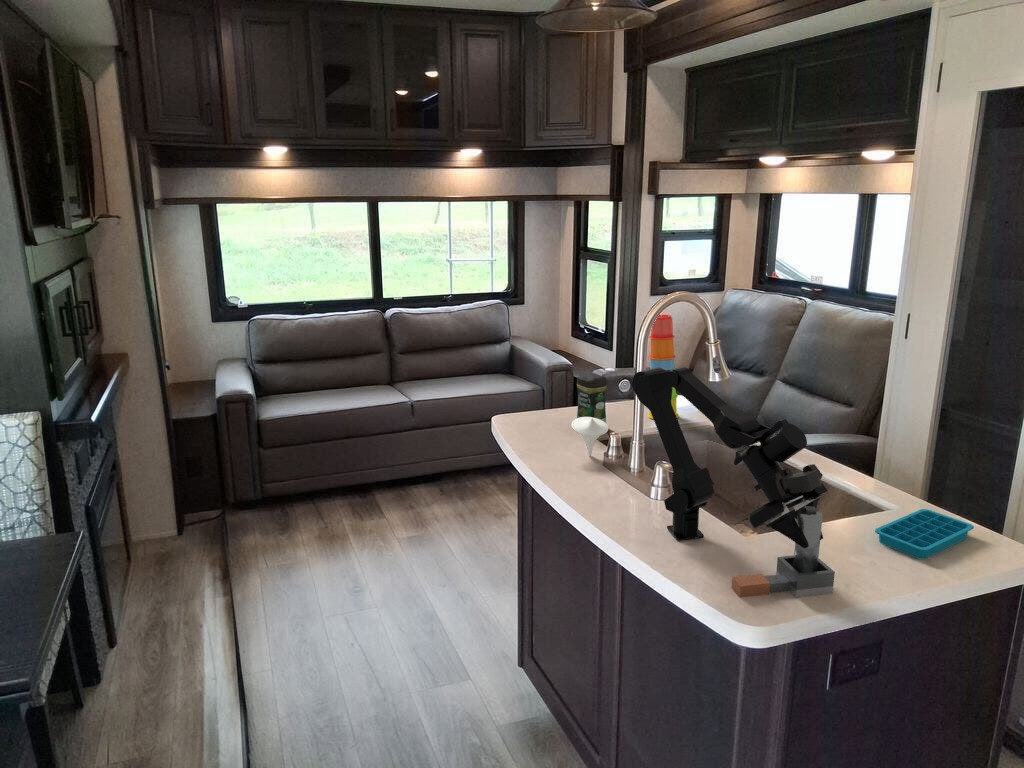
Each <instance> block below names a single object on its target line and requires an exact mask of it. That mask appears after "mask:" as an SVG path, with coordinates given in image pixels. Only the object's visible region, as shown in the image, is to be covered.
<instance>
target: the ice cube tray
mask: <svg viewBox="0 0 1024 768" xmlns="http://www.w3.org/2000/svg"><path fill="white" fill-rule="evenodd" d="M974 528H975V527H974V525H973V524H971V523H969V522H966V521H963V520H960V519H957V518H954V517H952V516H949V515H945V514H943V513H940V512H937V511H934V510H932V509H929V508H921V509H918V510H916V511H914V512H911V513H909V514H907V515H905V516H903V517H902V516H901V517H900V518H898V519H895V520H893V521H890V522H888V523H886V524H883V525H881V526H879V527H876V528H875V529H874V533H876V534H877V535H878V542H879V543H880V544H882V545H884V546H886V547H889V548H892V549H894V550H897V551H899V552H902V553H904V554H906V555H909V556H911V557H914V558H916V559H921V560H924V559H926V558H929V557H931V556H933V555H935V554H937V553H939V552H941V551H943V550H945V549H947V548H949V547H952V546H954V545H956V544H958V543H960V542H962V541H964V540H966V539H967V538H968V537H967V536H968V533H969V532H970V531H973V529H974Z"/></svg>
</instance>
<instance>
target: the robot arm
mask: <svg viewBox="0 0 1024 768" xmlns="http://www.w3.org/2000/svg"><path fill="white" fill-rule="evenodd" d="M631 387H632V390H633V392H634V394H635V395H636V397H637V399H638V401H639V403H641V404H642V405H643V406H644V407H645V408H647V410H649V413H650V412H651V414H652V417H653V419H652V420H653V422H654V424H655V426H656V429H657V432H658V435H659V437H660V440H661V442H662V445H663V448H664V449H665V453H666V454H667V458H668V461H669V463H670V466H671V468H672V471H673V472H672V477H671V478H672V479H671V487H672V491H673V493H672V494H671V495H669V496H668V497H667V498H666V499H664V500H663V503H664V508H665V510H666V511H668V512H671V513H672V525H671V524H670V525H667V526H666V529H667V530H668V532H669V533H670V534H671V535H672V536H673V537H674V538H675V540H677V541H680V540H683V541H684V540H692V539H693V540H694V539H702V538H704V537H705V535H704V533H702V531H701V530H700V529H699V520H700V508H703V507H706V506H707V505H708V502H709V501H711V500H712V498H713V495H714V493H715V491H714V490H715V489H714V485H715V483H714V481H713V480H712V477H711V476H710V475H711V474H710V472H709V471H710V470H709V469H708V468H707V467H704V468H701V467H700V466H699V465H698V464H697V463H696V462H695V461H694V457H693V455H692V453H691V450H690V448H689V446H688V443H687V441H686V437H685V435H684V432H683V430H682V428H681V425H680V422H679V420H678V418H677V417H676V415H675V412H674V409H673V407H672V404H671V398H672V387H673V388H675V389H676V391H677V392H678V393H679V394H680V395H681V396H682V397H683V398H684V399H686V400H687V402H689V403H690V404H691V405H692V406H693V407H694V408H696V409H697V410H698V411H699V412H700V413H701V414H702V415H704V416H705V417H706V418H707V419H708V420H709V421H710V422H711V424H712V425H713V428H714V432H715V434H716V435H717V436H718V437H719V439H720V440H721V441H722V442H723V444H725V446H727V448H730V449H740V448H742V447H748V448H747V449H740V450H737V451H735V458H734V461H733V465H734V466H737V465H740V464H744V465H745V466H746V467H745V468H747V469H748V471H749V473H750V474H751V476H752V478H753V479H754V480H755V482H756V485H755V486H754V489H755V491H756V492H758V491H761V492H762V493H763V494H764V496H765V498H766V499H767V501H768V502H767V503H764V504H763V505H761V506H760V507H759V508H757V509H756V510H754V511H753V512H751V513H749V515H748V520H749V521H748V522H749V523H750V524H751V527H753V530H755V529H757V528H759V527H761V526H763V525H765V523H766V522H768V521H769V523H768V524H766V526H765V527H766V528H771V529H772V530H775V531H776V532H778V533H780V535H783V536H784V537H787V538H788V539H789V540H791V541H792V542H794V544H795V543H797V544H798V545H800V546H801V547H803V548H807V547H808V546H809V545H808V543H807V540H806V538H805V537H804V535H803V533H802V531H801V530H800V528H799V526H798V524H797V516H798V509H800V508H803V507H805V506H813V507H815V508H816V509H818V508H817V507H818V504H819V502H821V498H820V497H822V496H823V495H824V494H826V493H828V492H829V491H828V489H827V488H826V486H825V485H824V483H822V482H821V480H822V477H823V473H822V472H821V470H820V469H819V467H817V465H816V464H815V463H812V464H807V465H806V466H803V467H802V471H799V472H797V473H793V472H792V470H791V469H789V468H788V467H787V468H783V467H782V465H781V464H780V463H785V462H786V461H788V460H789V459H790V458H792V457H794V456H795V455H796V454H798V453H800V452H801V451H802V450H803V449H804V450H805V448H806V447H807V444H808V439H807V436H806V434H805V433H804V432H803V430H802V429H800V428H799V427H798V426H796V425H795V424H793V423H789V422H788V420H787V419H786V418H783V419H779V420H778V421H777V422H776V423H774V425H773V426H772V427H769V426H767V425H765V424H763V423H760V422H759V420H757V418H755V417H754V416H752V415H751V414H749V413H747V412H745V410H743V409H739V408H737V407H733V406H731V405H729V404H728V403H726V402H725V401H724V400H723V399H722V398H721V397H720V396H718V395H717V393H715V392H714V391H713V390H712V389H711V388H709V387H708V386H707V385H706V384H704V383H703V382H702V381H701V380H700V379H699V378H698V377H696V376H695V375H694V374H693V373H692V370H691V369H690V368H689V367H685V366H681V367H677V368H675V369H671V370H664V369H662V368H659V367H657V368H653V369H650V368H649V369H644V370H641V371H637V372H636V373H635V374H634V375H633V377H632V381H631ZM758 443H760V444H759V445H758ZM791 508H793V509H792V510H789V509H791ZM822 531H823V530H821V537H820V541H822V540H823V539H824V536H823V535H824V534H823V533H822Z"/></svg>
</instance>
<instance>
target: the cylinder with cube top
mask: <svg viewBox="0 0 1024 768" xmlns="http://www.w3.org/2000/svg"><path fill="white" fill-rule="evenodd" d="M823 515H824V514H823V512H822V510H820V509H818V508H815V507H813V506H805V507H803V508H800V509H798V516H797V519H796V523H797V524H798V526H799V528H800V530H801V531H802V533H803V535H804V537H805V538H806V540H807V543H808V545H809V546H808V547H807V548H803V547H801V546H800V545H798V544H797V543H795V542H794V553H793V555H794V561H793V568H794V569H795V570H796V571H797V572H798V573H799V574H800V573H809V572H817V567H818V558H819V556H820V547H821V546H820V545H821V540H820V537H821V531H822V526H823V525H822V524H823V517H824V516H823Z"/></svg>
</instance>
